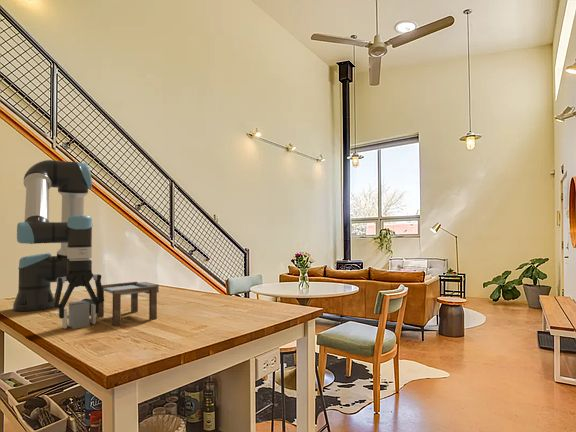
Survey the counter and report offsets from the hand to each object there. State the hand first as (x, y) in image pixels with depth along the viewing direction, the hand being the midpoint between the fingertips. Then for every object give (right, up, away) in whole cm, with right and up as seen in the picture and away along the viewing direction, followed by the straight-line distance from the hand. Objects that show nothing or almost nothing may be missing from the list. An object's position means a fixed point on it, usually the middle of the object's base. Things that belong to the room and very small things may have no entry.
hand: (79, 325), depth 130 cm
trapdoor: (+13, +8, +13) cm, 20 cm away
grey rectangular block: (0, 0, 0) cm, 0 cm away
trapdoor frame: (+12, -1, +11) cm, 16 cm away
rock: (-7, -2, +21) cm, 22 cm away
